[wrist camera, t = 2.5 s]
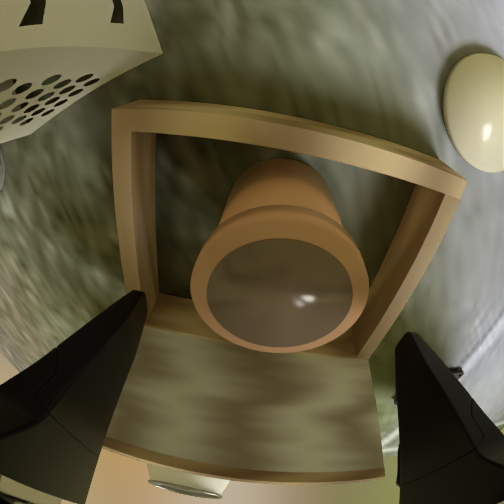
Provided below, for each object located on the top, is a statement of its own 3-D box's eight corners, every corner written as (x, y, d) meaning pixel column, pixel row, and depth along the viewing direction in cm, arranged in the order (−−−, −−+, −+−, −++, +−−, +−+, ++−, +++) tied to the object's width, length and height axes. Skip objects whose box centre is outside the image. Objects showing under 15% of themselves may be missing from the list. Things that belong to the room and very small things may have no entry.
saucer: (533, 88, 9) (539, 90, 8) (506, 183, 13) (512, 186, 12) (455, 31, 9) (460, 31, 8) (428, 146, 13) (433, 149, 12)
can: (174, 377, 27) (146, 485, 17) (175, 341, 23) (136, 475, 14) (237, 391, 28) (221, 501, 18) (250, 358, 24) (234, 496, 14)
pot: (351, 167, 14) (399, 244, 8) (320, 262, 18) (334, 362, 12) (230, 142, 14) (192, 205, 8) (218, 245, 17) (189, 341, 12)
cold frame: (439, 159, 13) (586, 312, 3) (357, 334, 21) (377, 480, 12) (140, 99, 13) (-62, 201, 3) (148, 300, 21) (89, 443, 11)
